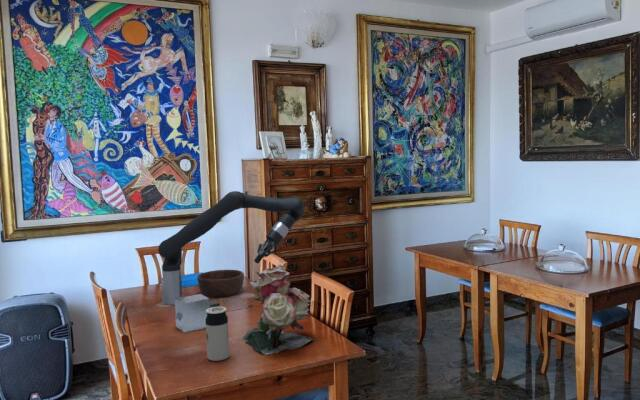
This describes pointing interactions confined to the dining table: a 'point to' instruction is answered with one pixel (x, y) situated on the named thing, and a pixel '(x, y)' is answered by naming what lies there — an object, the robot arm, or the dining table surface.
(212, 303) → the dark boxy piece
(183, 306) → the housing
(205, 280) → the wooden bowl
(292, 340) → the rose bouquet
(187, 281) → the book
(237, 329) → the dining table surface
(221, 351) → the travel mug
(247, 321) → the dining table surface
